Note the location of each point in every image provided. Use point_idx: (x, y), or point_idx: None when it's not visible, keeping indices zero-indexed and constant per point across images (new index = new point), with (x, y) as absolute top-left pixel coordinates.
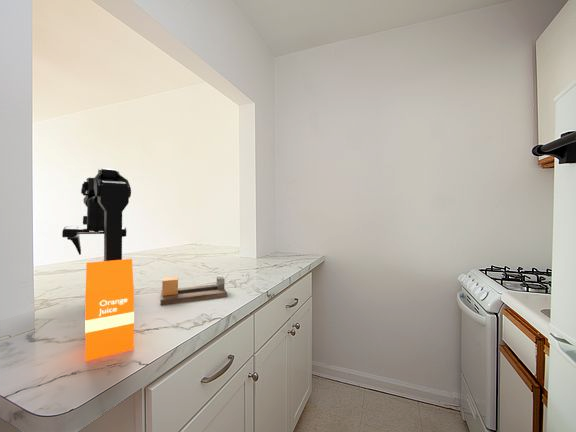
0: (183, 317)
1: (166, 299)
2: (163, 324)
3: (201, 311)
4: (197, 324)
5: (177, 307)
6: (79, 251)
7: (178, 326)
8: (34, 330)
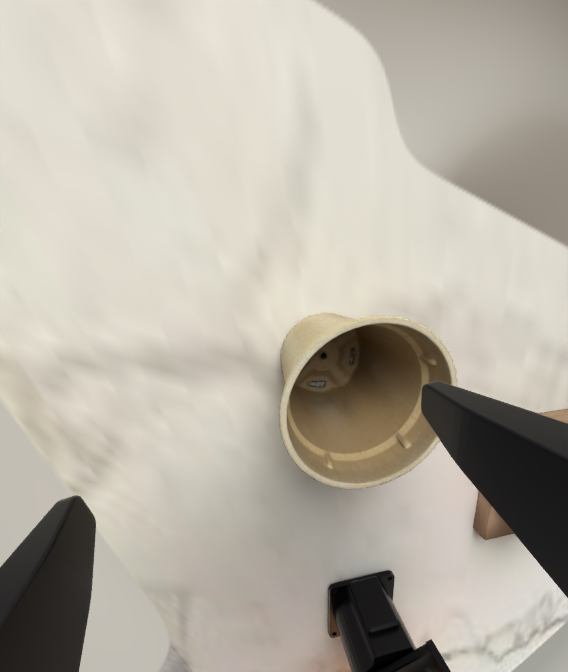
0: (504, 611)
1: (501, 534)
2: (461, 640)
3: (548, 583)
4: (518, 643)
5: (508, 551)
6: (75, 601)
7: (485, 650)
8: (177, 654)
